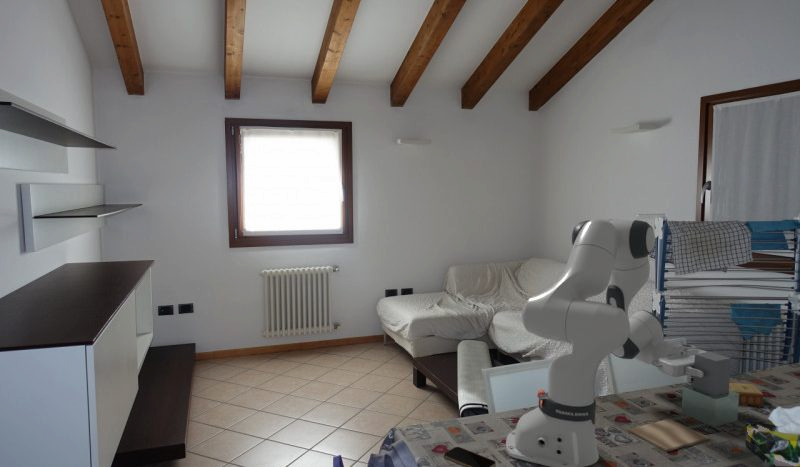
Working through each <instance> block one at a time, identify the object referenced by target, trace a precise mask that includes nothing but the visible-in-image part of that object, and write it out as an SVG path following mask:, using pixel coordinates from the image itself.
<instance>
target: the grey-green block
mask: <svg viewBox="0 0 800 467" xmlns="http://www.w3.org/2000/svg"><path fill="white" fill-rule="evenodd" d="M681 414H684V415H686V416H688V417H690V418H693V419H694V420H697V421H700V422H702V423H703V424H706V425H708V426H710V427H713V428H716V427H719V426H723V425H726V424H731V423H735V422H737V421H738V416H739V393H736V392H734V391H731V390H729V392H728V393H724V394H719V395H715V396H713V395H710V394H708V393H705V392H703V391H700V390H697V389H695V388H693V383H692V384H687V385H683V386H682V400H681Z"/></svg>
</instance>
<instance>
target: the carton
mask: <svg viewBox="0 0 800 467" xmlns="http://www.w3.org/2000/svg"><path fill="white" fill-rule="evenodd" d="M729 390H731V391H734V392H736V393H739V403H738V405H739V404H741V405H742V404H743V405H751V406H752V405H753V406H763V405H764V394H763V392H762V391H761V390H760V389H759V388H758V387H756V386H755V385H753V383H744V382H730V381H729Z"/></svg>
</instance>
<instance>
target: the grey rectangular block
mask: <svg viewBox="0 0 800 467" xmlns="http://www.w3.org/2000/svg"><path fill="white" fill-rule="evenodd" d="M731 362H732V358H731V357H728V356H725V355H722V354H719V353H716V352H712V351H707V352H705V353H700V354H695V361H694V369H698V370H699V369H700V370H703V371H705V372H706V374H705V375H706V376H705V377H702V378H700V377H697V376H693V380H692V381H693V382H692V384H693V388H695V389H697V390H700V391H703V392H705V393H708V394H710V395H713V396H715V395H719V394H724V393H728V392H729V382H730V381H731V380H730V378H731V365H732V363H731Z"/></svg>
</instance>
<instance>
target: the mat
mask: <svg viewBox="0 0 800 467" xmlns="http://www.w3.org/2000/svg"><path fill="white" fill-rule="evenodd" d="M627 432H628V433H630V434H632V435H634V436H635V437H638V438H639V439H642V440H644V441H645V442H647V443H649V444H651V445H653V446H655V447H656V448H659V449H660V450H663V451H665V452H667V453H668V452H671V451H674V450H678V449H681V448H685V447H688V446H692V445H695V444H698V443H701V442H706V441H708V440H710V437H709V436H707V435H705V434H703V433H702V432H698V431H697V430H694V429H692V428H690V427H688V426H686V425H684V424H682V423H679V422H677V421H675V420H673V419H671V418H667V419H663V420H660V421H659V420H658V421H655V422H651V423H646V424H642V425H640V426H639V425H638V426H635V427H632V428H628V429H627Z"/></svg>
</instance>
